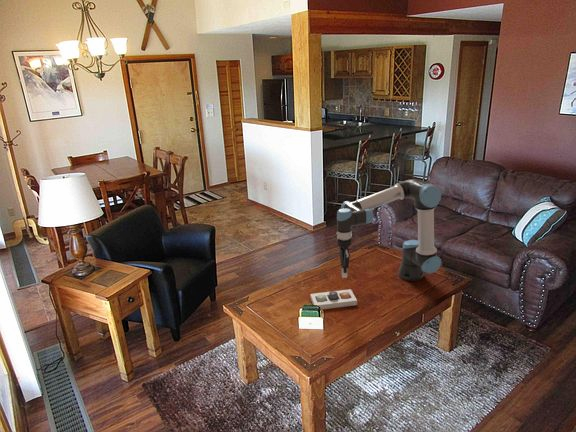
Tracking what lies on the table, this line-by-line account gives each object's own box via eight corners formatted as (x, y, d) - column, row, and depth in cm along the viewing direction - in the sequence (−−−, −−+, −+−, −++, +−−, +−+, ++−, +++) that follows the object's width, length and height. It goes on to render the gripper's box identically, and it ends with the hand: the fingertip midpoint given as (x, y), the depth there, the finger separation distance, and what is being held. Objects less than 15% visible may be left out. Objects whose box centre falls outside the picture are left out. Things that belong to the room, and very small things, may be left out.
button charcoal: (336, 295, 230) (336, 290, 229) (338, 299, 225) (338, 295, 224) (328, 296, 229) (328, 291, 228) (330, 300, 225) (330, 296, 223)
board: (350, 293, 235) (350, 289, 234) (357, 305, 224) (357, 300, 223) (310, 298, 232) (310, 294, 231) (314, 310, 221) (314, 305, 220)
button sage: (324, 298, 229) (324, 294, 228) (326, 303, 225) (326, 298, 224) (316, 299, 229) (316, 295, 228) (318, 304, 224) (318, 299, 223)
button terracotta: (348, 295, 231) (348, 291, 230) (350, 300, 227) (350, 295, 225) (340, 296, 230) (340, 292, 229) (342, 301, 226) (342, 296, 225)
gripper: (334, 233, 216) (334, 272, 225) (340, 243, 204) (340, 283, 213) (347, 232, 217) (347, 270, 226) (354, 241, 205) (354, 282, 214)
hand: (344, 276), depth 219 cm, fingers closed
